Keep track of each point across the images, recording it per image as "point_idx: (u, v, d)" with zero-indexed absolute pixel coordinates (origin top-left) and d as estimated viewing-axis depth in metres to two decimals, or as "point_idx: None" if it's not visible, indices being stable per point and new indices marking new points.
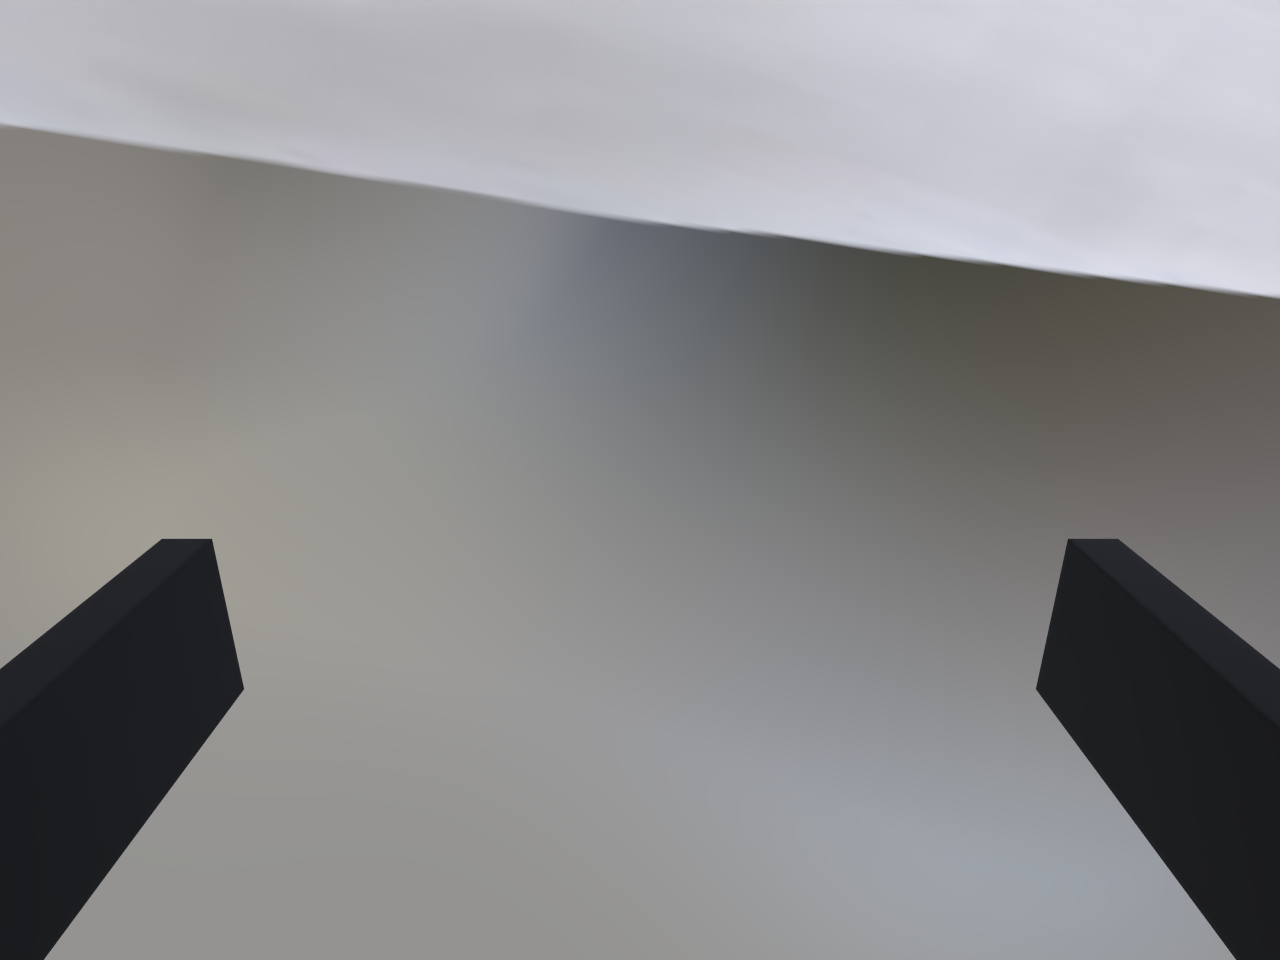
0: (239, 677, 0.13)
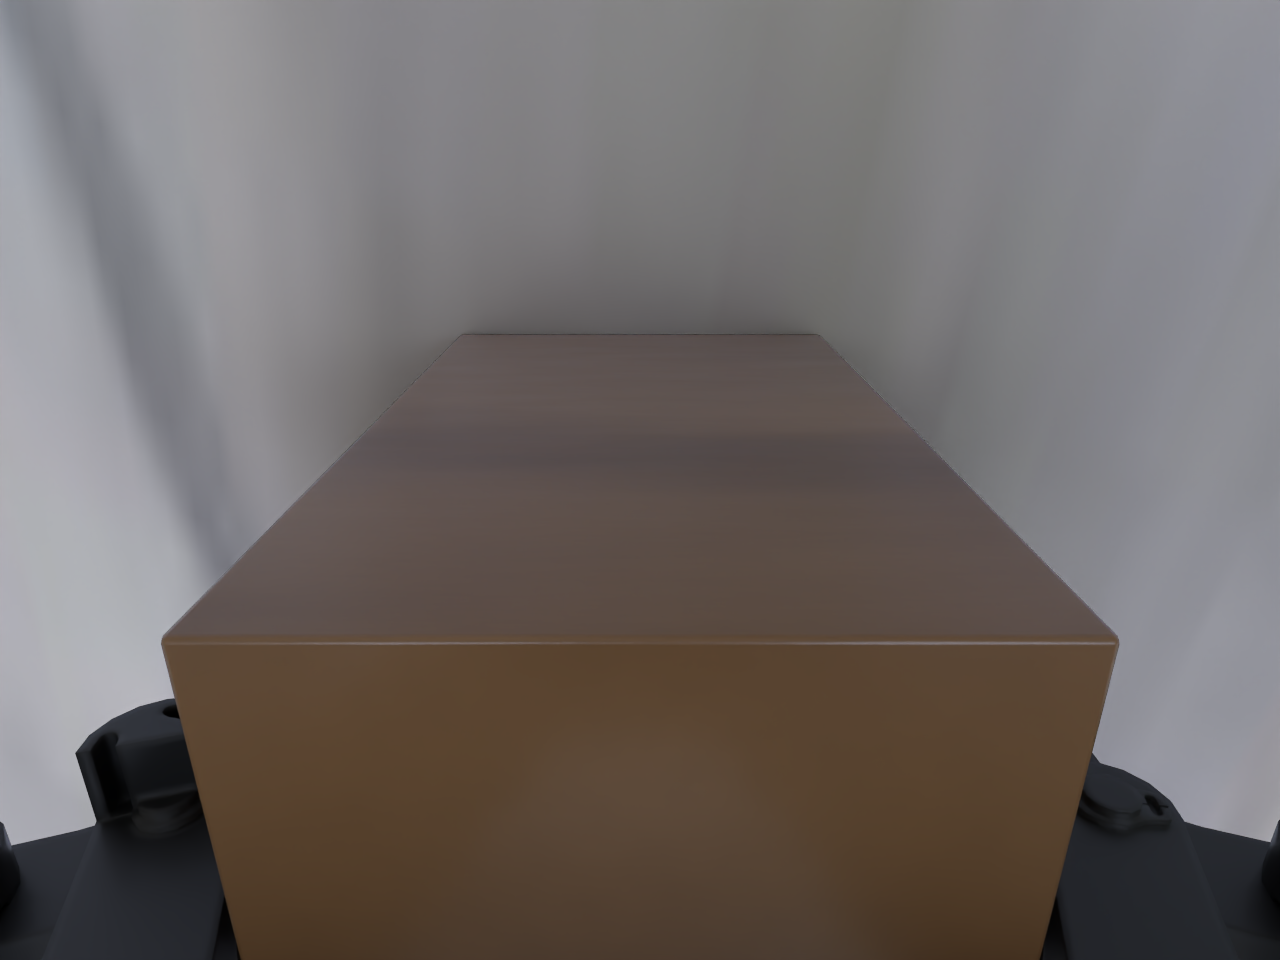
0: None
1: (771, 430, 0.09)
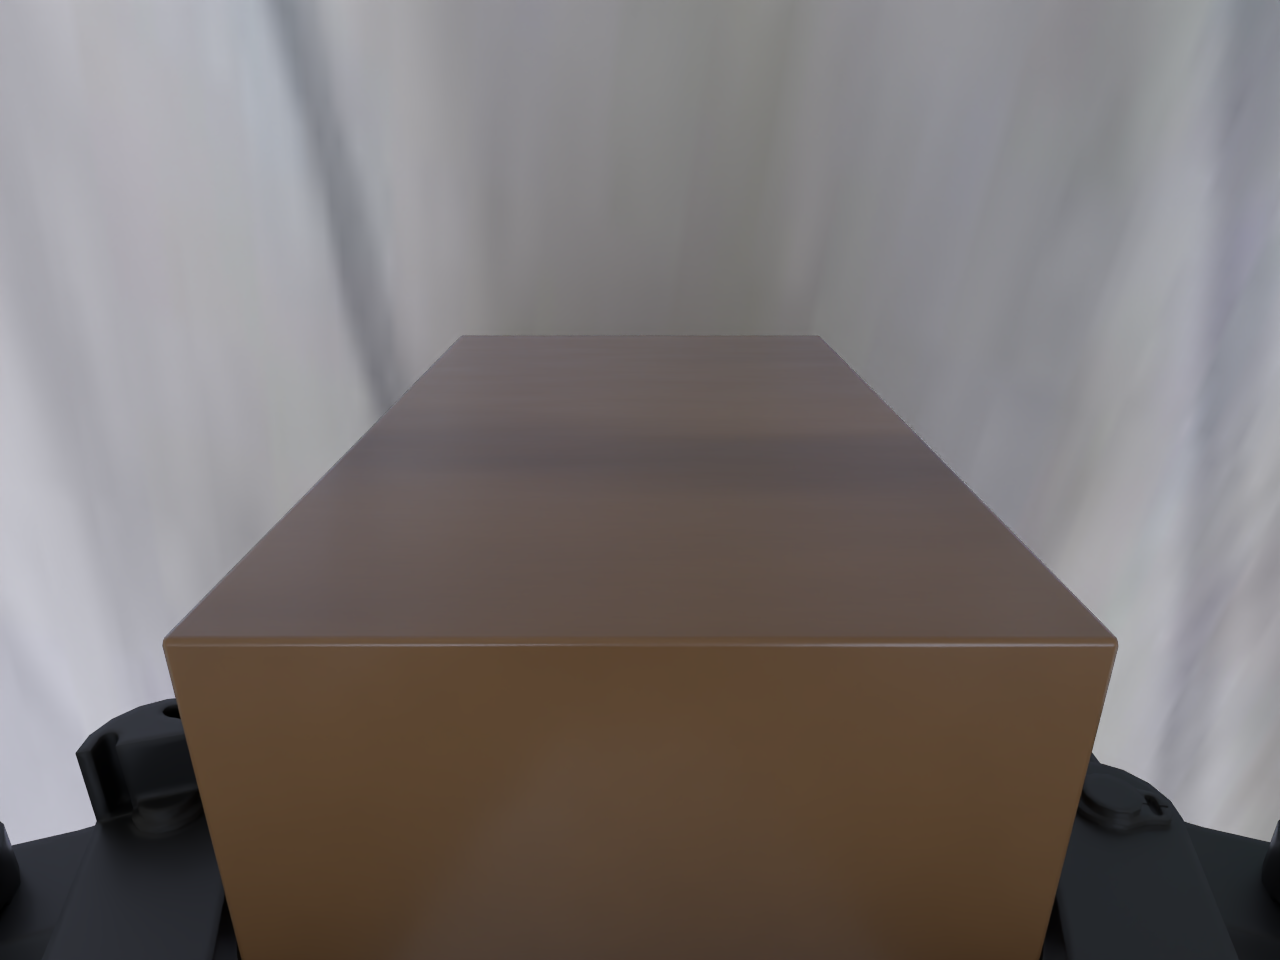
0: None
1: (770, 430, 0.09)
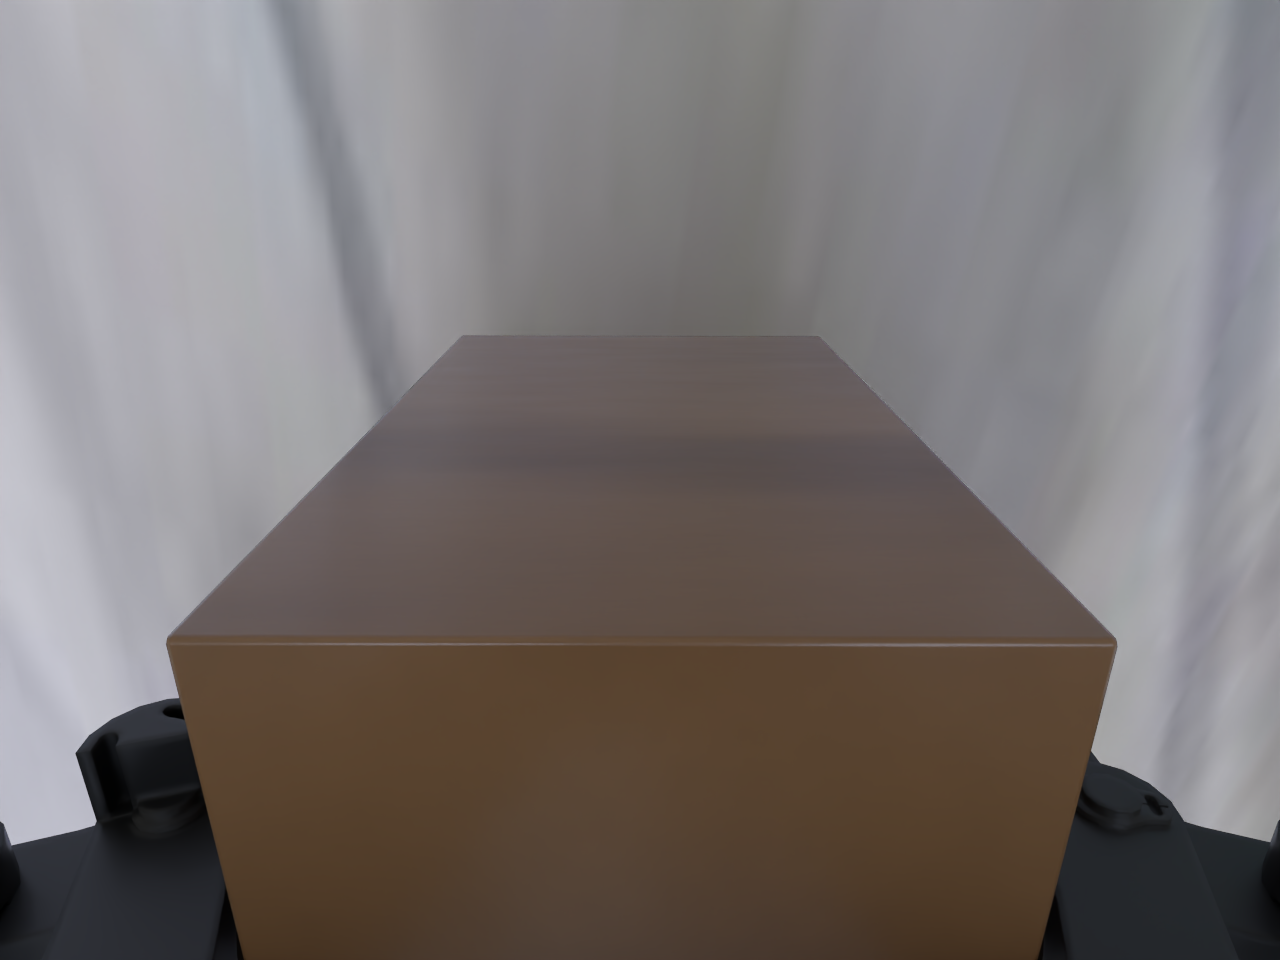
0: None
1: (771, 431, 0.09)
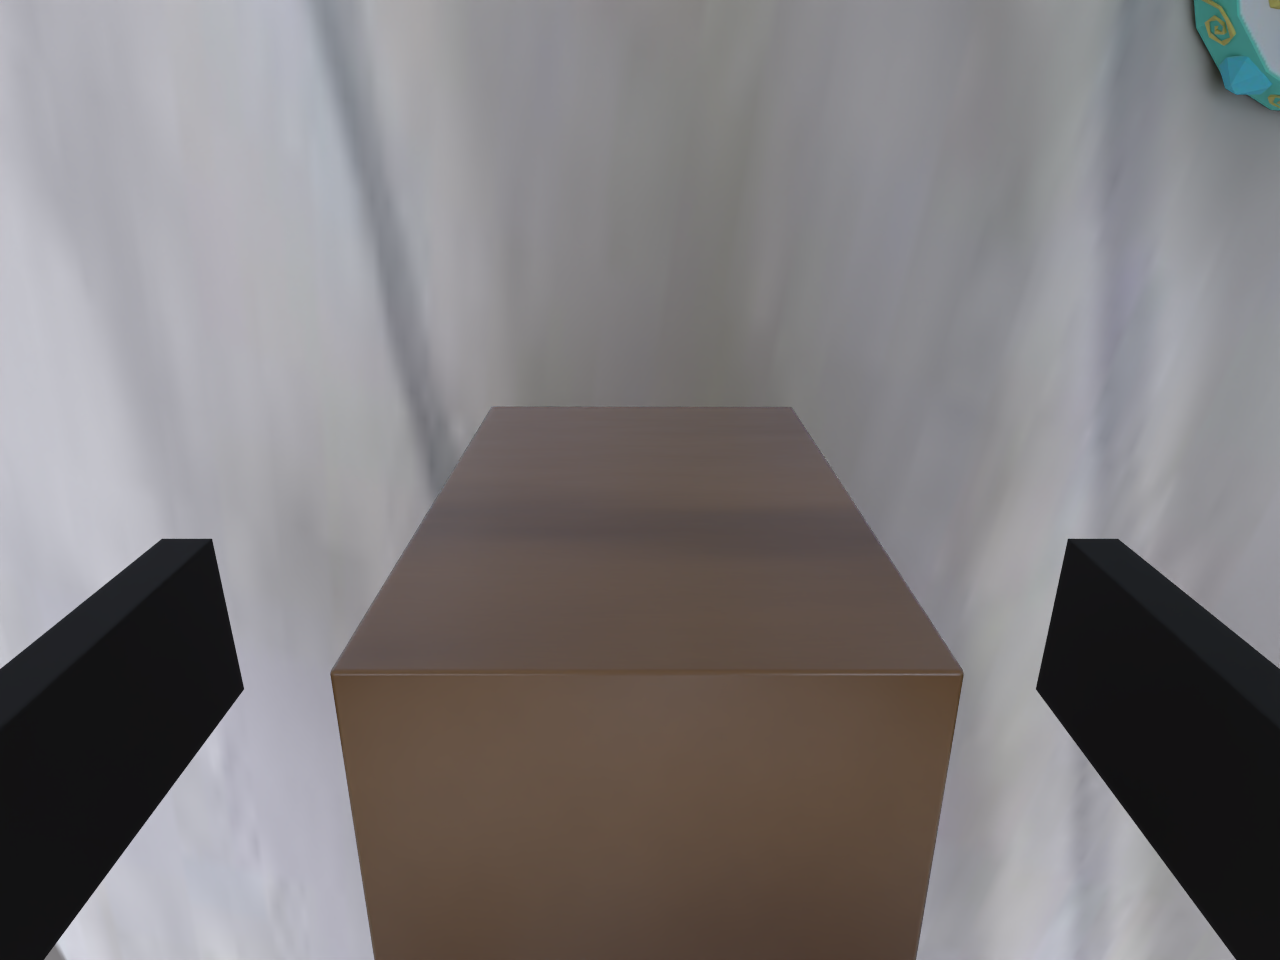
0: (239, 677, 0.13)
1: (744, 504, 0.12)
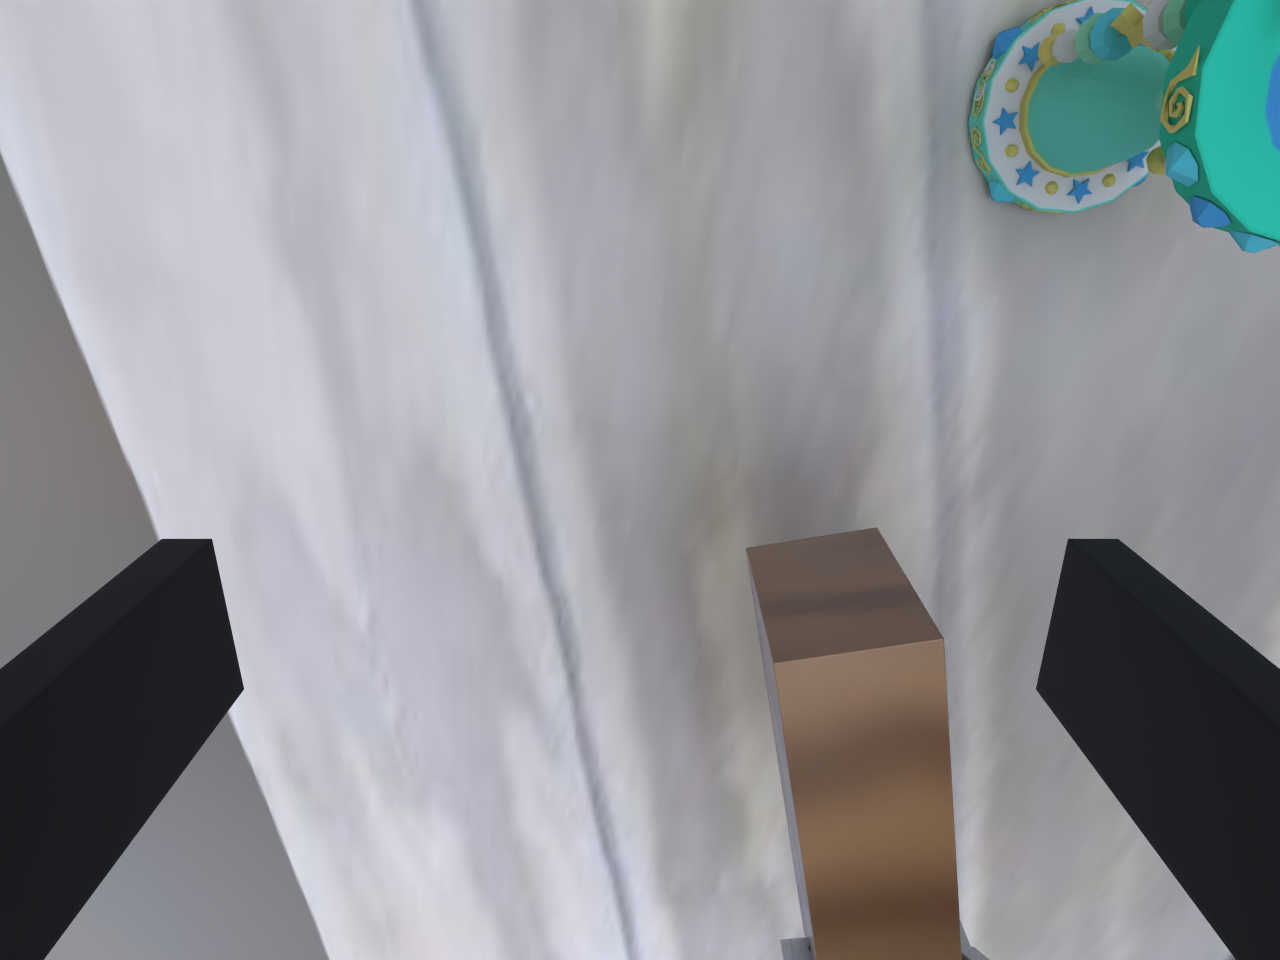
0: (240, 677, 0.13)
1: (869, 587, 0.32)
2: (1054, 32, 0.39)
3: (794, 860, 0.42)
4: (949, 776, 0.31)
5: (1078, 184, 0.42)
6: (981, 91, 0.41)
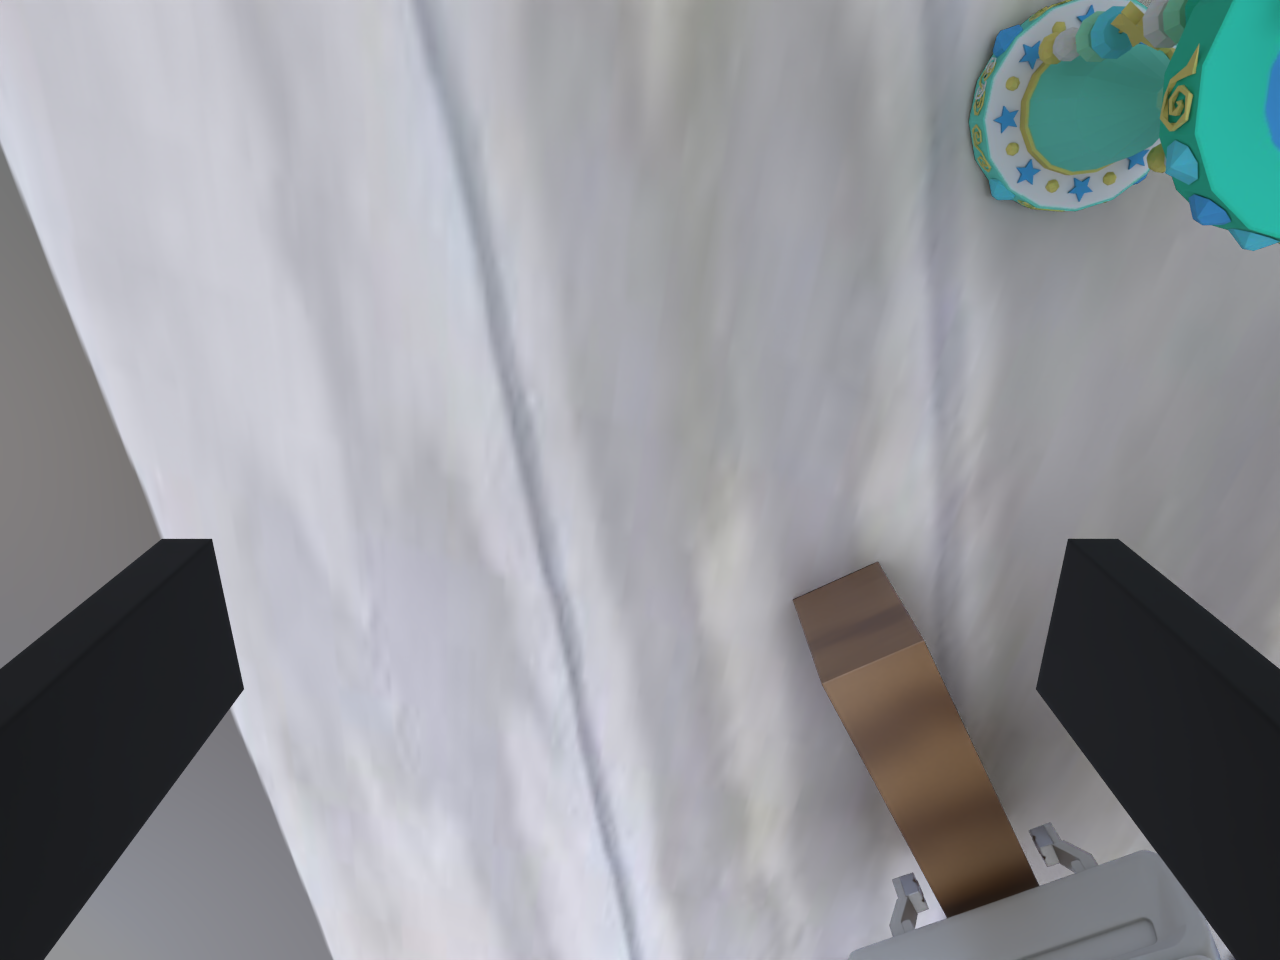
0: (239, 677, 0.13)
1: (876, 612, 0.48)
2: (1054, 30, 0.39)
3: None
4: (961, 722, 0.46)
5: (1079, 182, 0.42)
6: (982, 89, 0.41)
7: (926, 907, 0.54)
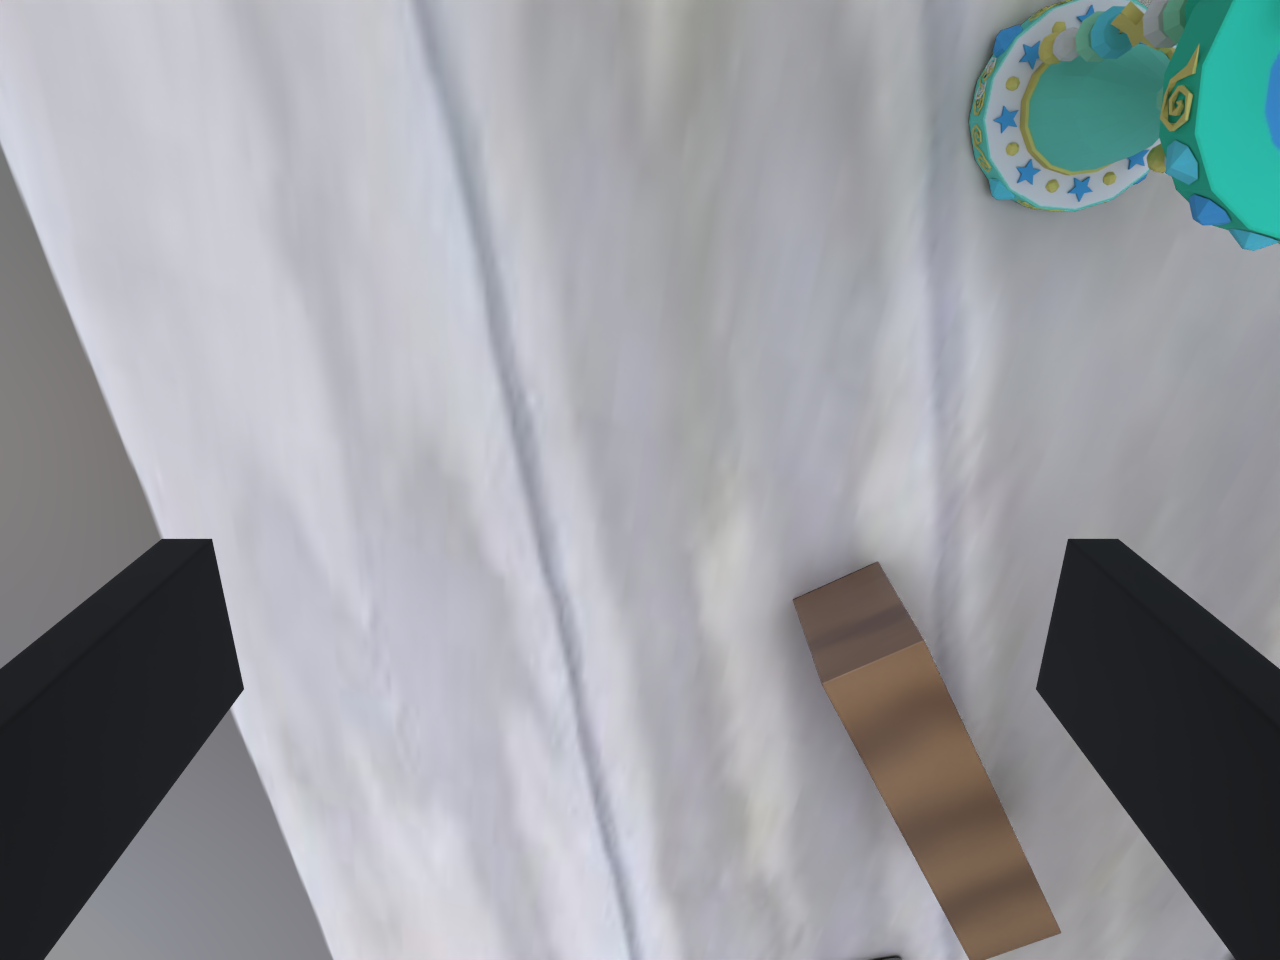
0: (239, 677, 0.13)
1: (876, 612, 0.48)
2: (1054, 30, 0.39)
3: None
4: (961, 722, 0.46)
5: (1079, 182, 0.42)
6: (982, 89, 0.41)
7: None
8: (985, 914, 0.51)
